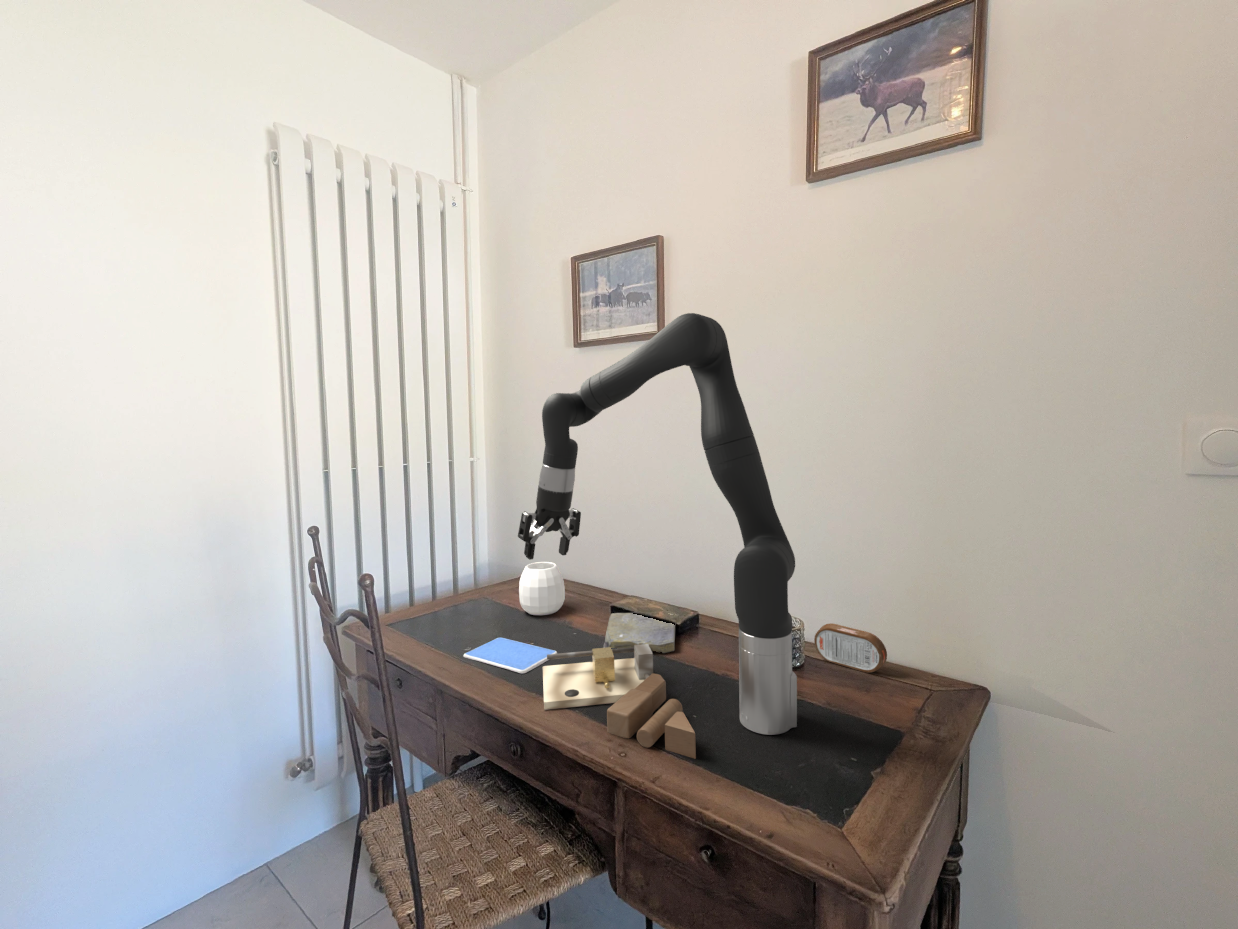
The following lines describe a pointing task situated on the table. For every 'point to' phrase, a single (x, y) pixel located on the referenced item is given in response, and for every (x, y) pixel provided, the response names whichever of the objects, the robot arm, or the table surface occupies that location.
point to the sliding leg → (603, 665)
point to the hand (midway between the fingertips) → (546, 556)
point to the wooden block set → (652, 718)
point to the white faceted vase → (541, 588)
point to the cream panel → (578, 683)
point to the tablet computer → (510, 655)
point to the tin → (850, 647)
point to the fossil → (639, 632)
